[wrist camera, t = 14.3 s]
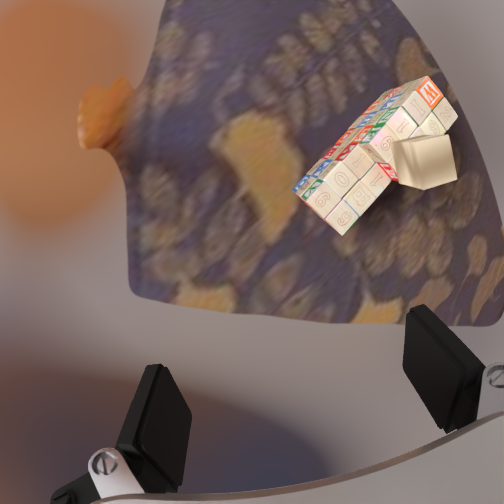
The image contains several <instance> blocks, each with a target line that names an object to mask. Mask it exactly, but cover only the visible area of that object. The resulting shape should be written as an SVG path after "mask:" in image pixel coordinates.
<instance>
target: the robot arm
mask: <svg viewBox="0 0 504 504" xmlns="http://www.w3.org/2000/svg"><path fill="white" fill-rule="evenodd" d="M403 370H404V372H405V374H406V375H407V377H408V378H409V380H410V382H411V383H412V385H413V386H414V388H415V389H416V391H417V393H418V394H419V396H420V398H421V399H422V401H423V402H424V404H425V406H426V407H427V409H428V411H429V412H430V414H431V416H432V417H433V419H434V421H435V423H436V424H437V426H438V427H439V428H440V429H442V428H443V429H444V431H445V433H446V434H448V433H450V432H451V431H453V430H455V429H457V431H454V432H453V433H451V434H449V435H447V436H444V437H442V438H440V439H438V440H436V441H433V442H431V443H429V444H427V445H424V446H422V447H420V448H417V449H415V450H413V451H410V452H408V453H405V454H403V455H400V456H398V457H395V458H392V459H390V460H387V461H384V462H381V463H378V464H375V465H372V466H369V467H366V468H363V469H359V470H356V471H353V472H349V473H346V474H342V475H338V476H334V477H330V478H326V479H322V480H317V481H312V482H307V483H303V484H297V485H292V486H285V487H279V488H272V489H265V490H256V491H247V492H234V493H218V494H217V493H216V494H166V492H172V493H177V489H178V486H181V485H182V481H183V474H184V467H185V459H186V453H187V447H188V440H189V434H190V428H191V421H192V414H191V411H190V409H189V407H188V405H187V404H186V402H185V400H184V398H183V396H182V394H181V392H180V391H179V389H178V387H177V385H176V383H175V381H174V379H173V377H172V375H171V374H170V371H169V370H168V368H167V367H164V366H163V365H162V364H153V365H147V366H146V368H145V371H144V373H143V376H142V378H141V381H140V383H139V386H138V388H137V391H136V394H135V396H134V399H133V401H132V403H131V405H130V408H129V410H128V413H127V416H126V418H125V421H124V424H123V427H122V429H121V432H120V435H119V438H118V441H117V443H116V446H115V449H113V448H104V449H101V450H99V451H97V452H96V453H94V454H93V456H92V457H91V458H90V460H89V463H88V469H89V472H88V473H86V474H84V475H83V476H81V477H79V478H77V479H76V480H74V481H72V482H70V483H68V484H67V485H65V486H63V487H61V488H59V489H58V490H56V491H55V492H54V494H53V495H52V497H51V503H50V504H504V363H503V362H495V363H492V364H490V365H488V366H487V367H485V366H484V365H483V363H482V362H481V361H480V360H479V359H478V358H477V357H476V356H475V355H474V354H473V353H472V352H471V350H470V349H469V348H468V347H467V346H466V345H465V344H464V343H463V342H462V341H461V340H460V339H459V338H458V337H457V336H456V335H455V334H454V333H453V332H452V331H451V330H450V329H449V328H448V327H447V326H446V325H445V324H444V323H443V322H442V321H441V320H440V319H439V318H438V317H437V316H436V315H435V314H434V313H433V312H432V311H431V310H430V309H429V308H428V307H427V306H426V305H424V304H421V305H418V306H416V307H413V308H411V309H410V310H409V313H407V314H406V327H405V344H404V355H403Z"/></svg>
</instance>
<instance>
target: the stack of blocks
mask: <svg viewBox="0 0 504 504" xmlns="http://www.w3.org/2000/svg"><path fill="white" fill-rule="evenodd" d="M457 117H458V115H457V114H456V112H455V111H454V110H453V108H452V107H451V105H450V104H449V102H448V101H447V99H446V98H445V97H443V95H442V93H441V92H440V90H439V89H438V88H437V86H436V85H435V84H434V83H433V82H432V80H431V79H430V78H429V77H428V76H425V77H422V78H420V79H417V80H414V81H411V82H409V83H406V84H404V85H402V86H399V87H397V88H394V89H390V90H388V91H386V92H384V93H383V94H382V95H381V96H380V97H379V98H378V99H377V100H376V101H375V102H374V103H373V104H372V105H371V106H370V107H369V108H368V109H367V110H366V111H365V112H364V113H363V114H362V115H361V116H360V117H359V118H358V119H357V120H356V121H355V122H354V123H353V124H352V125H351V126H350V127H349V129H348V131H347V132H346V133H345V134H344V135H343V136H342V137H341V138H340V139H339V140H338V141H337V142H336V144H335V145H334V146H333V147H332V148H331V149H330V150H329V151H328V153H327V154H326V155H325V156H324V157H323V158H322V159H320V160H319V161H318V162H317V163H316V164H315V165H314V166H313V167H312V168H311V169H310V170H309V172H308V173H307V174H306V175H305V176H304V177H303V178H302V179H301V180H300V182H299V183H298V184H297V185H296V186H295V187H294V188H293V189H292V191H293V192H294V193H295V194H296V195H298V196H299V197H300V198H301V199H302V200H303V201H304V202H305V203H306V204H307V205H308V206H309V207H310V208H311V209H312V210H313V211H314V212H315V213H316V214H318V215H319V216H320V217H321V218H322V219H323V220H324V221H326V222H327V223H328V224H329V225H330V226H332V227H333V228H334V229H335V230H336V231H337V232H338V233H339V234H341V235H344V234H345V232H346V231H347V230H348V229H349V228H350V227H351V226H352V225H353V224H354V222H355V221H356V220H357V219H358V217H360V216H361V215H362V214H363V213H364V212H365V211H366V210H367V209H368V207H369V206H370V205H371V204H372V203H373V202H374V201H375V199H376V198H377V197H378V196H379V195H380V194H381V193H382V192H383V191H384V189H385V188H386V187H387V186H388V185H389V183H390V182H391V180H393V181H398V182H399V180H398V176H397V171H396V167H395V162H394V158H393V154H392V150H391V146H390V142H394V141H398V140H402V139H407V138H411V137H416V136H420V135H444V133H445V132H446V131H447V130H448V129H449V128H450V126H451V125H452V124H453V123H454V121H455V120H456V119H457Z"/></svg>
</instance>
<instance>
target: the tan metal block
mask: <svg viewBox="0 0 504 504" xmlns="http://www.w3.org/2000/svg"><path fill="white" fill-rule="evenodd" d="M390 146H391V150H392V154H393V158H394V162H395V167H396V171H397V176H398V180H399V184H403V185H407V186H411V187H415V188H419V189H422V190H426V189H429V188H432V187H435V186H438V185H441V184H445V183H448V182H451V181H454V180H457V175H456V169H455V163H454V158H453V153H452V148H451V143H450V138H449V135H420V136H416V137H411V138H407V139H402V140H398V141H394V142H390Z"/></svg>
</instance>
